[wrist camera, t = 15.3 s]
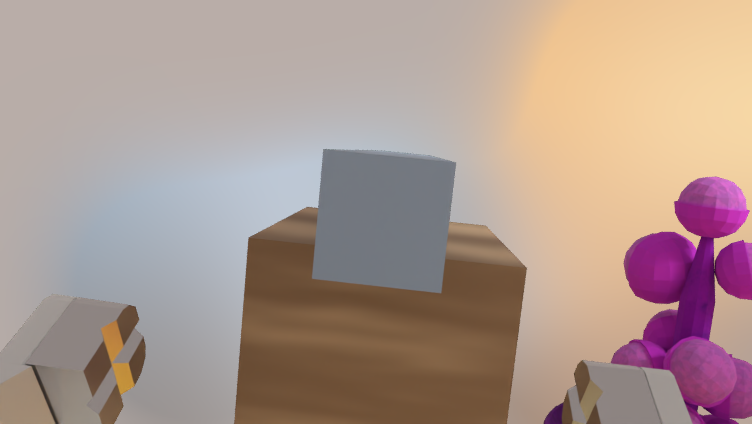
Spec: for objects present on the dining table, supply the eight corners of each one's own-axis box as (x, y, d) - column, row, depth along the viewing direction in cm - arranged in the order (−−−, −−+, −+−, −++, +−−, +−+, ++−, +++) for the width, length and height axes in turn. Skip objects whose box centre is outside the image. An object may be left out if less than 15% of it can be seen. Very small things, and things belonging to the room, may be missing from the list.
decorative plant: (444, 595, 41) (497, 154, 37) (587, 508, 53) (636, 169, 49) (756, 861, 26) (885, 190, 23) (852, 658, 39) (945, 199, 35)
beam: (441, 293, 16) (456, 162, 16) (312, 278, 16) (323, 149, 16) (424, 203, 44) (429, 155, 43) (377, 198, 44) (381, 150, 44)
